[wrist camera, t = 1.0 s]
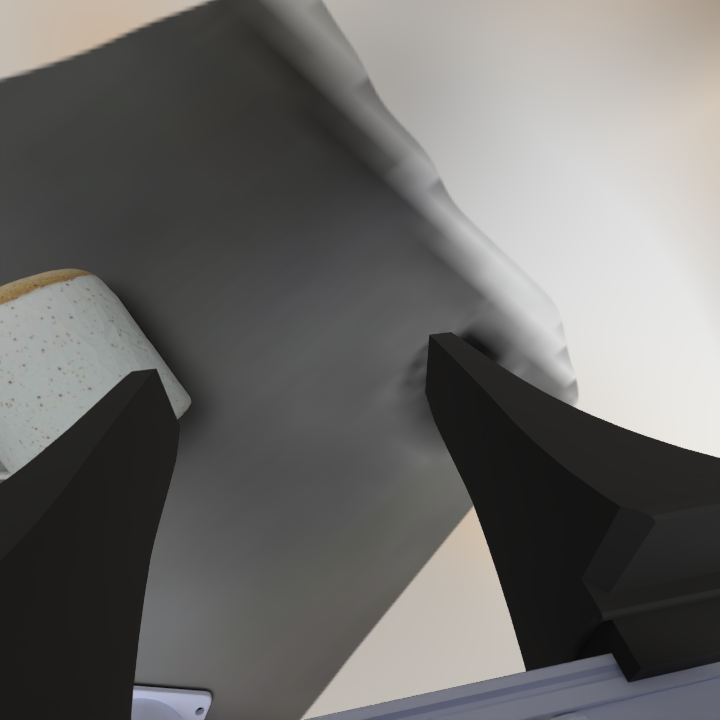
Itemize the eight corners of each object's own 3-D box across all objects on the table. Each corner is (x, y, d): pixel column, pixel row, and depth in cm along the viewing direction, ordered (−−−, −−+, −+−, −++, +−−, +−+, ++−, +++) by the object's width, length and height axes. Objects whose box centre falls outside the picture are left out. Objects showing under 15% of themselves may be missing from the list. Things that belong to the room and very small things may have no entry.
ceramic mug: (106, 266, 22) (59, 245, 15) (196, 391, 25) (192, 425, 17) (-107, 375, 20) (-283, 412, 13) (15, 503, 22) (-76, 595, 15)
